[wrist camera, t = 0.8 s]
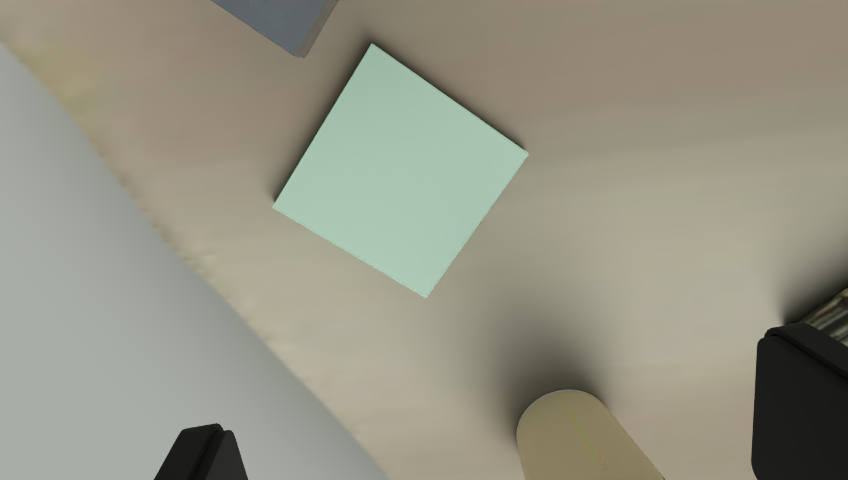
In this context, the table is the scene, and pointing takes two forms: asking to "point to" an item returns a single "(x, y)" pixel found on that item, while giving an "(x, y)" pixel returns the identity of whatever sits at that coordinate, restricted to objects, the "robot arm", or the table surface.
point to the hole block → (283, 20)
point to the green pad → (399, 174)
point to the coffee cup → (578, 441)
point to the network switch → (831, 318)
